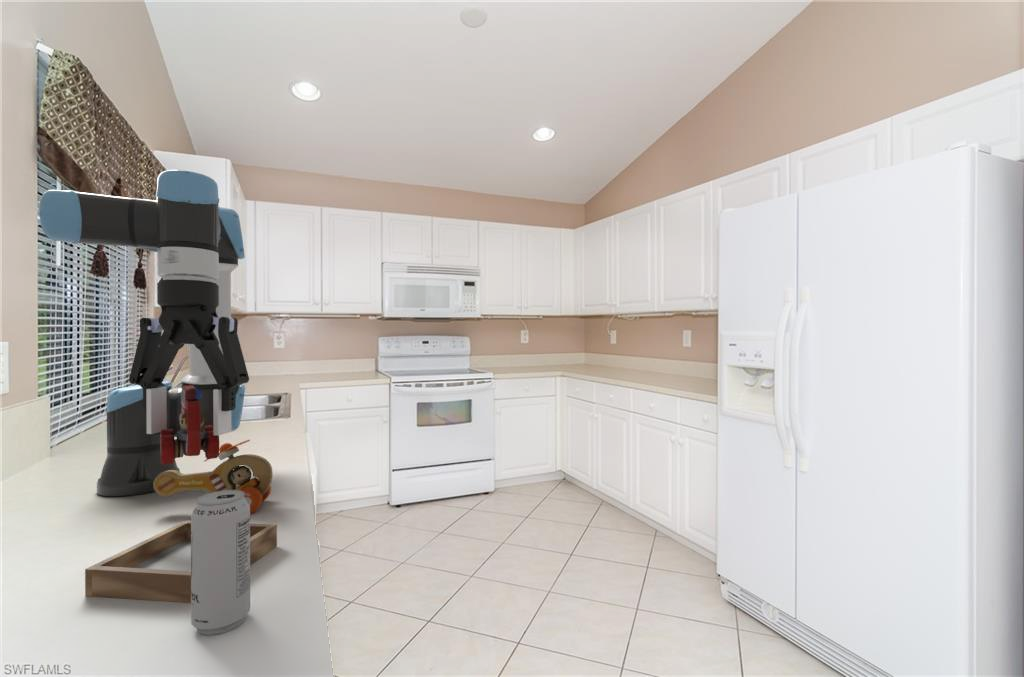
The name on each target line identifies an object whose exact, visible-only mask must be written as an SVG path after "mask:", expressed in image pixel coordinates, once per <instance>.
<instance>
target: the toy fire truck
mask: <svg viewBox="0 0 1024 677" xmlns="http://www.w3.org/2000/svg"><path fill="white" fill-rule="evenodd" d="M181 387H182V386H181ZM200 398H202V392H201V391H200V390H199V389H197V388H195V387H194V386H193V385H191V386H183V387H182V390H181V414H180V416H179V420H180V426H181V431H178V432H177V437H176V438H175V437H174V432H173V429H165V430H161V432H160V454H161V464H162V465H168V464H173V463H174V462H175V461H176V459H177V458H179V459H180V458H183V457H184V456H186V457H198V456H200V454H201V451H203V452H204V454H205V459H209V460H212V459H218V458H219V457H218V456H219V453H220V451H219V449H220V435H213V425H209V426H204V427H203V430H202V429H201V427H202V426H203V424H204V420H205V419H204V416H203V414H202V413H200V401H199V400H198V399H200Z"/></svg>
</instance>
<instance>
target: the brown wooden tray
mask: <svg viewBox="0 0 1024 677" xmlns="http://www.w3.org/2000/svg"><path fill="white" fill-rule="evenodd" d="M277 525H278V524H274V523H273V524H267V523H251V522H250V566H252V565H253V564H254V563H256V562H257V561H258V560H260V559H262V557H264V556H266V555H267V554H268V553H269V551H270V552H271V551H272V550H273V548H274V549H276V548H277V547H276V546H278V535H277V534H278V526H277ZM84 571H85V572H84V582H85V584H84V588H85V589H84V595H85V597H97V598H99V597H101V598H113V599H129V600H141V601H142V600H143V601H155V602H156V601H157V602H159V601H160V602H173V603H187V604H191V520H185V521H183V522H181V523H178V524H176V525H174V526H173V527H170V528H168V529H166V530H164V531H162V532H159V533H157V534H156V535H154V536H151V537H149V538H147V539H145V540H143V541H141V542H139V543H136V544H135V545H132V546H131V547H129V548H126V549H124V550H122V551H120V552H118V553H116V554H114V555H112V556H110V557H108V558H106V559H103V560H102V561H99V562H97V563H95V564H93V565H91V566H88V567H87V568H84Z"/></svg>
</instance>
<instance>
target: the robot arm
mask: <svg viewBox="0 0 1024 677" xmlns="http://www.w3.org/2000/svg"><path fill="white" fill-rule="evenodd" d="M156 186H157V187H156V192H155V197H156V200H154V199H153V200H152V199H146V198H145V199H142V198H134V197H132V198H131V197H125V196H124V197H123V196H115V195H106V194H100V193H99V194H98V193H91V192H80V191H76V190H59V189H48V190H46V191H45V192H43V193H42V195H41V196H40V199H39V205H38V214H39V223H40V227H41V229H42V232H43V233H44V235H45V236H46V237H47V238H48V239H50V240H52V241H56V242H63V243H70V244H76V245H77V244H82V245H83V244H84V245H98V246H100V245H101V246H117V247H129V248H135V249H139V250H140V249H141V250H144V251H149V252H155V253H157V254H156V255H157V256H156V257H157V275H158V277H160V278H162V280H159V281H158V282H157V283H156V284H157V285H156V287H157V288H156V292H157V293H156V295H157V296H156V299H157V300H156V303H157V305H158V306H159V307H160V308H161V311H160V312H161V313H160V314H159V317H141V318H140V319H139V331H140V335H139V338H138V342H137V346H136V350H135V353H134V357H133V363H132V366H131V369H130V372H129V378H128V382H129V384H131V385H129V386H125V387H119V388H116V389H114V390H112V391H110V393H109V394H108V396H107V401H106V402H107V403H106V410H105V413H106V444H107V445H106V458H105V461H104V464H103V467H102V470H101V474H100V477H98V479H97V481H96V494H97V495H99V496H102V497H103V496H104V497H124V496H134V495H142V494H146V493H152V492H153V493H154V492H155V490H154V487H153V483H154V480H155V478H156V477H157V476H158V475H159V474H160V473H162V472H165V471H168V470H176V471H179V472H180V473H181V469H180V468H179V467H178V463H177V461H176V460H175V462H174V463H173V464H168V465H162V464H161V454H160V432H161V430H165V429H173V432H174V438H177V432H178V431H181V426H180V420H179V416H180V414H181V390H182V387H183V386H191V385H193V386H194V387H195V388H197V389H199V390H200V391H201V392H202V398H200V399H198V400H199V401H200V413H202V414H203V416H204V419H205V420H204V424H203V426H202V427H201V429H202V430H203V427H204V426H209V425H213V435H219V436H221V435H225V434H228V433H232V432H235V431H237V430H238V429H239V427H240V424H241V420H242V415H243V409H244V408H243V407H244V399H245V392H246V385H245V384H247V383H249V381H250V377H249V376H250V375H249V373H248V368H247V366H246V365H247V364H246V361H245V358H244V354H243V351H242V350H243V349H242V347H241V343H240V340H239V339H240V338H239V336H238V322H239V321H238V318H236V317H232V272H233V271H234V270H236V269H237V267H239V260H243V259H245V258H246V257H245V249H244V241H243V234H242V233H243V232H242V229H241V227H242V226H241V222H240V216H239V214H238V212H237V211H236V210H234V209H232V208H227V207H222V206H220V205H219V203H220V198H219V187H218V183H217V182H216V181H215V179H213V178H212V177H210V176H208V175H205V174H203V173H199V172H195V171H188V170H182V169H169V170H164V171H162V172H160V173H159V174H158V176H157V185H156ZM162 331H163V332H162ZM185 345H188V357H189V358H188V360H189V361H188V364H189V365H188V366H189V368H188V369H189V372H188V373H187V374H186V375H184V377H183V378H182V379H181V386H178V387H173V384H172V383H171V381H167V380H165V378H166V375H167V374H168V372H169V369H170V368H171V366H172V364H173V362H174V361H175V358H176V357H177V354H178V352H179V351H180V349H182V348H183V347H184V346H185ZM164 380H165V381H164ZM134 384H135V385H134Z"/></svg>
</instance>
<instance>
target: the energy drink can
mask: <svg viewBox="0 0 1024 677" xmlns="http://www.w3.org/2000/svg"><path fill="white" fill-rule="evenodd" d="M190 521H191V603H190V604H191V605H190V608H191V609H190V617H191V620H190V623H191V626H192V627H193V628H195V629H196V631H197V633H199V634H201V635H204V636H212V635H213V636H214V635H219V634H224V633H227V632H229V631H232V630H233V629H235V628H237V627H238V626H240V625H241V624H242V623H243V622H244V621H245V619H246V615H247V614H248V613H249V612H250V610H251V565H250V523H251V513H250V505H249V503H248V502H247V500H246V499H245V498H244V492H243V491H240V490H224V491H217V492H212V493H209V492H208V493H205V494H203V495H201V496H198V498H197V499H196V506H195V507H194V509H193V511H192V512H191V514H190Z"/></svg>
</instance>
